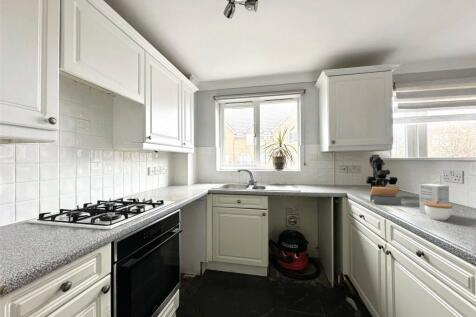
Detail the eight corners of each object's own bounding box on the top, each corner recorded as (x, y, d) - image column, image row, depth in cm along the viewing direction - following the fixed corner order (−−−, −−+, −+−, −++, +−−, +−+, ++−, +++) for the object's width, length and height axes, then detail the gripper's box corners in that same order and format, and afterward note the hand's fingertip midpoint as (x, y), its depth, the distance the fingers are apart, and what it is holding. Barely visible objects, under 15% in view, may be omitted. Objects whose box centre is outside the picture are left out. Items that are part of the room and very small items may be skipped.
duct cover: (370, 194, 151) (369, 193, 152) (395, 195, 146) (395, 194, 147) (372, 187, 145) (372, 186, 146) (399, 188, 141) (398, 187, 142)
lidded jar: (443, 216, 112) (443, 199, 112) (458, 222, 101) (458, 203, 101) (419, 215, 114) (419, 198, 114) (431, 220, 104) (431, 202, 104)
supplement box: (430, 211, 123) (430, 183, 123) (449, 215, 114) (449, 185, 114) (418, 212, 120) (418, 183, 120) (437, 216, 111) (437, 185, 111)
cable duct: (370, 201, 151) (370, 194, 151) (395, 202, 146) (395, 195, 146) (374, 203, 143) (374, 196, 143) (401, 205, 138) (401, 198, 138)
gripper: (367, 165, 153) (371, 182, 142) (396, 166, 147) (403, 183, 137) (364, 175, 160) (368, 191, 150) (392, 175, 155) (398, 192, 144)
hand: (384, 189), depth 145 cm, fingers closed, pressing on duct cover
